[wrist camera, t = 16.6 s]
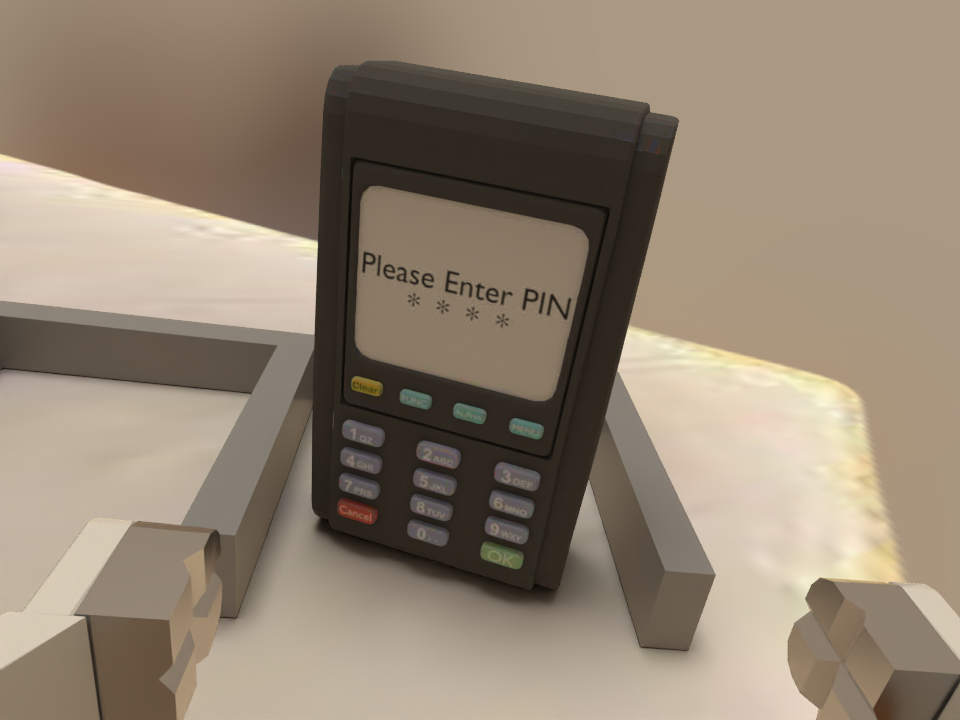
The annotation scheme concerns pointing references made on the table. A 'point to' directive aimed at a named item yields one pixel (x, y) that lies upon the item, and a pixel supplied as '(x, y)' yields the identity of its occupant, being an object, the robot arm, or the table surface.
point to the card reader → (473, 307)
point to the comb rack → (281, 422)
